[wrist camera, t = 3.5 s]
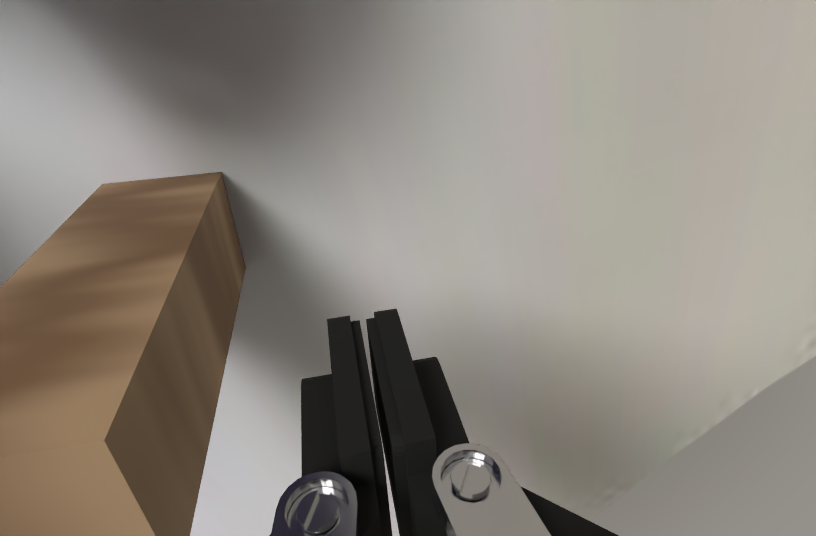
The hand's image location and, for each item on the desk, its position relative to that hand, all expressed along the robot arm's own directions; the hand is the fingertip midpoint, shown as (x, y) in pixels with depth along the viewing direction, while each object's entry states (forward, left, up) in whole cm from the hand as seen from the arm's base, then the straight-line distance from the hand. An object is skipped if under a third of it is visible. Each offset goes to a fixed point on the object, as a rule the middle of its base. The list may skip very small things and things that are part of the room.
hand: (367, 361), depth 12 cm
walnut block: (+6, 0, -9) cm, 10 cm away
